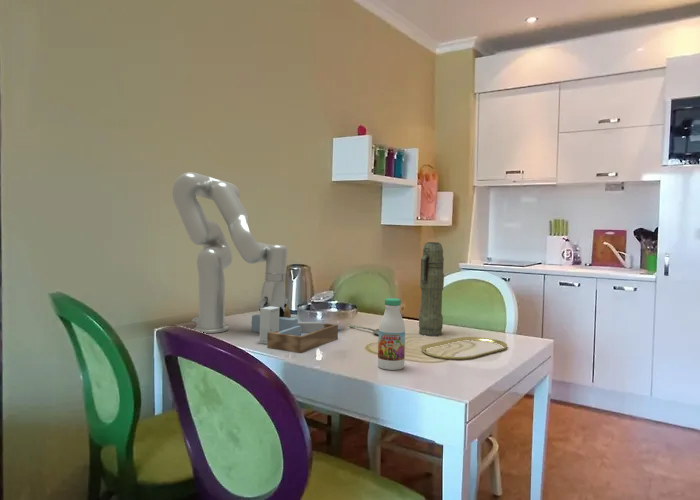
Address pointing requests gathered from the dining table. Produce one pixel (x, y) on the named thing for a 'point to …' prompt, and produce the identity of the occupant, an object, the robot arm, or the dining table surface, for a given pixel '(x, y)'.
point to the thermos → (431, 290)
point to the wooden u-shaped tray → (302, 339)
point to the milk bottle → (391, 337)
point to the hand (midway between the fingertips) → (272, 323)
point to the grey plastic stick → (310, 326)
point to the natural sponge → (287, 312)
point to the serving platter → (462, 340)
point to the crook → (280, 325)
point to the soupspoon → (366, 328)
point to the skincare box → (268, 322)
